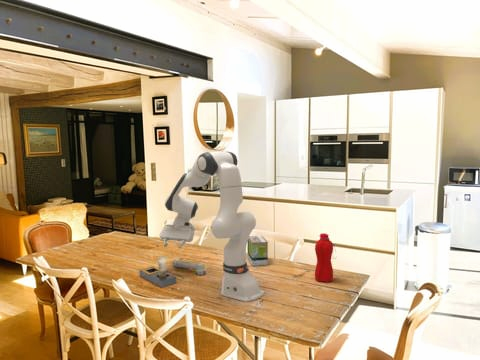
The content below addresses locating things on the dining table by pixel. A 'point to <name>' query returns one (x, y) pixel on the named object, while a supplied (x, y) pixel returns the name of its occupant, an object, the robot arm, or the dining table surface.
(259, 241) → the tea box
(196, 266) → the grey long bar
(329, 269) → the water bottle
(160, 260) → the peg
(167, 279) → the grey peg hole block
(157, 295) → the dining table surface
